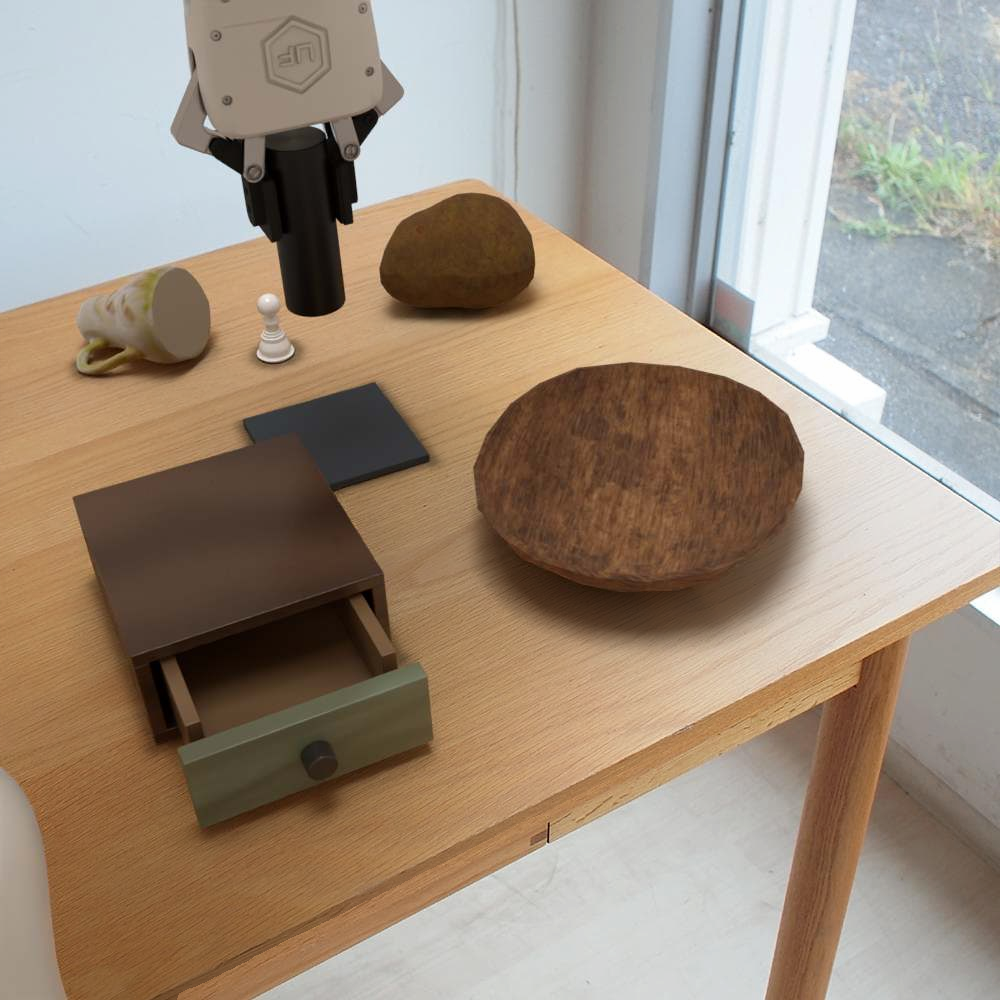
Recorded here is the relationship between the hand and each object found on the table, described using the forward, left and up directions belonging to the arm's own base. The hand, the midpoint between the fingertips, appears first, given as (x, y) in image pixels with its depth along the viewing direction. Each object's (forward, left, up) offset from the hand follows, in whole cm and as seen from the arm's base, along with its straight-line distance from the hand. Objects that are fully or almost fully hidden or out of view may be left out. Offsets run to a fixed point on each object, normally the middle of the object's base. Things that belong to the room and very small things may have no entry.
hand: (305, 221), depth 81 cm
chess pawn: (0, +13, -17) cm, 21 cm away
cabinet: (-11, -14, -17) cm, 24 cm away
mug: (-9, +18, -17) cm, 26 cm away
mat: (0, 0, -17) cm, 17 cm away
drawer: (-11, -22, -16) cm, 30 cm away
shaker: (0, 0, -6) cm, 6 cm away
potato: (+16, +14, -17) cm, 27 cm away
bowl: (+14, -17, -17) cm, 28 cm away
